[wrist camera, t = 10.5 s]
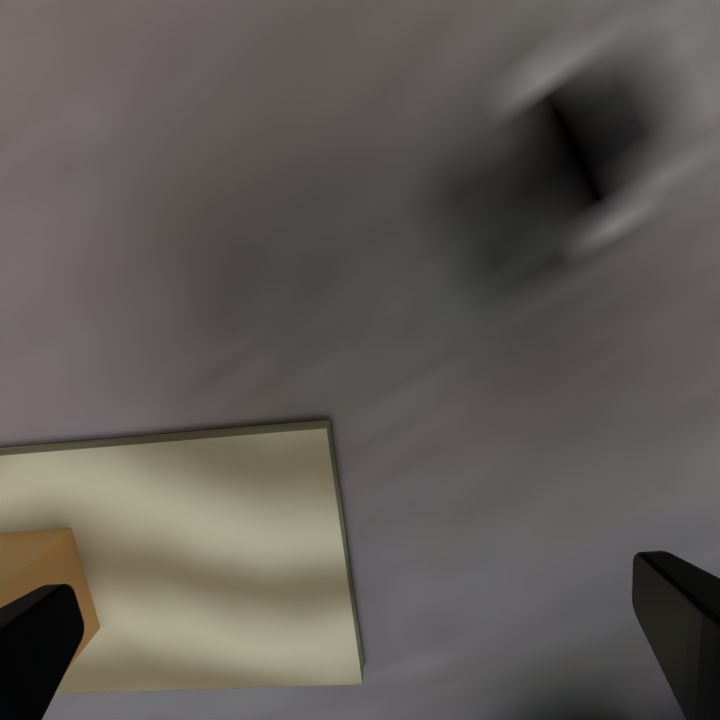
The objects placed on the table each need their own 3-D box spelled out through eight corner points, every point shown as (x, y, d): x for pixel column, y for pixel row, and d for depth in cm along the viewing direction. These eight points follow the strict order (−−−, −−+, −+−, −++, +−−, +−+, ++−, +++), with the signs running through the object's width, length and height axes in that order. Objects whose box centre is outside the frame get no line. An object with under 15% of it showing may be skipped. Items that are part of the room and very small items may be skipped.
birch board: (363, 665, 22) (362, 683, 21) (-6, 678, 24) (-22, 695, 23) (329, 419, 19) (326, 428, 18) (-87, 455, 21) (-110, 465, 20)
